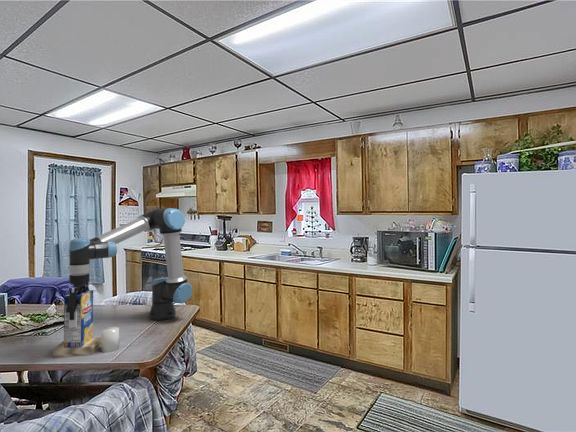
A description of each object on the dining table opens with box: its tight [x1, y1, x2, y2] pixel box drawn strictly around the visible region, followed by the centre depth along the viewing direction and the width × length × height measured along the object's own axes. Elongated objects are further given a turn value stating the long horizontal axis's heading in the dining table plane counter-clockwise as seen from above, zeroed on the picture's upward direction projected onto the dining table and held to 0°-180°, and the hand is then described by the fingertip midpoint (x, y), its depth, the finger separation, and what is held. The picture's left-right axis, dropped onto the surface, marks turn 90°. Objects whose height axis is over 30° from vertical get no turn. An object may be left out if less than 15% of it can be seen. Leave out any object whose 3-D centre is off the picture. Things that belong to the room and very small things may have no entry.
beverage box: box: [63, 289, 94, 348], centre depth 145 cm, size 7×11×22 cm, turn 7°
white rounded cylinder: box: [100, 326, 120, 353], centre depth 148 cm, size 7×7×9 cm
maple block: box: [52, 337, 101, 358], centre depth 145 cm, size 15×11×4 cm
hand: (79, 322), depth 146 cm, fingers open, 13 cm apart
